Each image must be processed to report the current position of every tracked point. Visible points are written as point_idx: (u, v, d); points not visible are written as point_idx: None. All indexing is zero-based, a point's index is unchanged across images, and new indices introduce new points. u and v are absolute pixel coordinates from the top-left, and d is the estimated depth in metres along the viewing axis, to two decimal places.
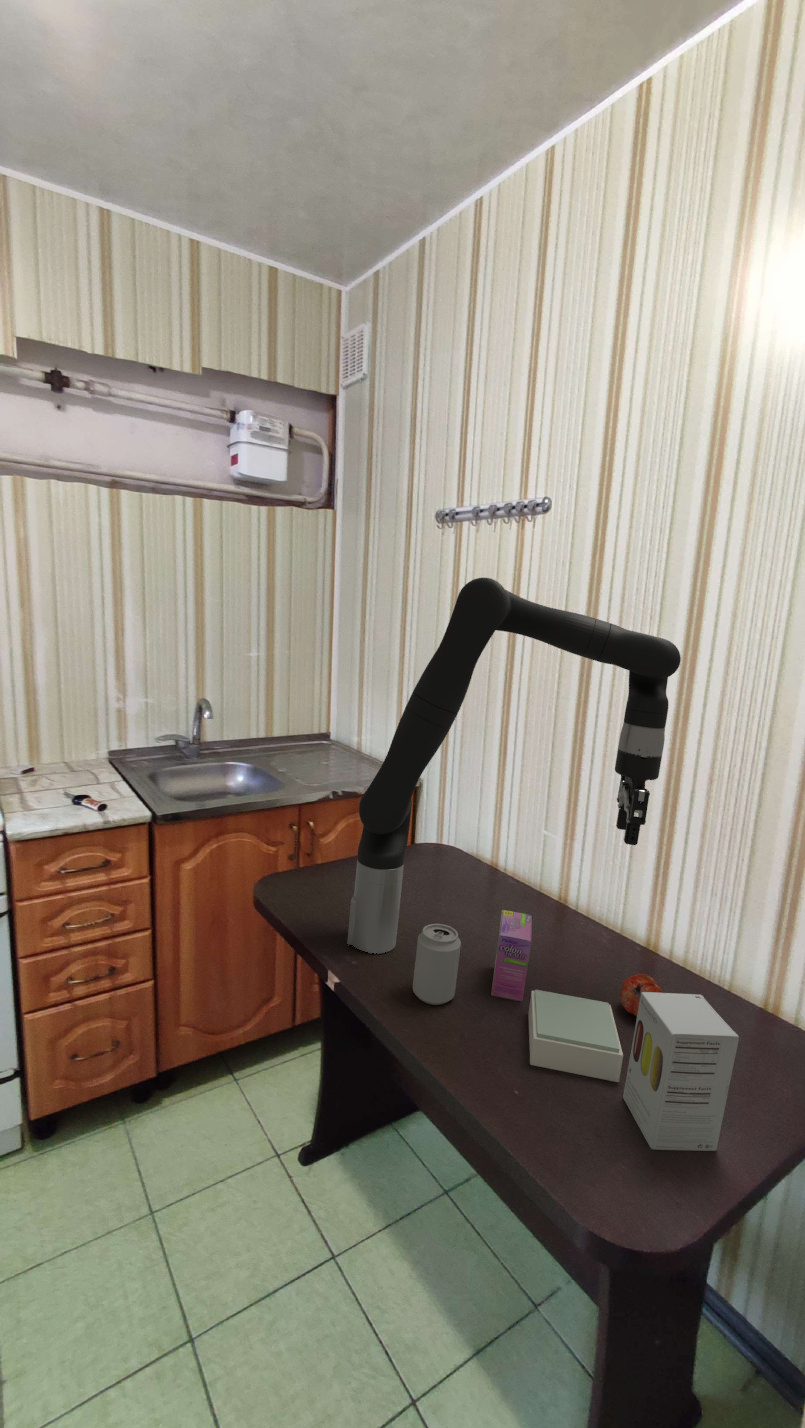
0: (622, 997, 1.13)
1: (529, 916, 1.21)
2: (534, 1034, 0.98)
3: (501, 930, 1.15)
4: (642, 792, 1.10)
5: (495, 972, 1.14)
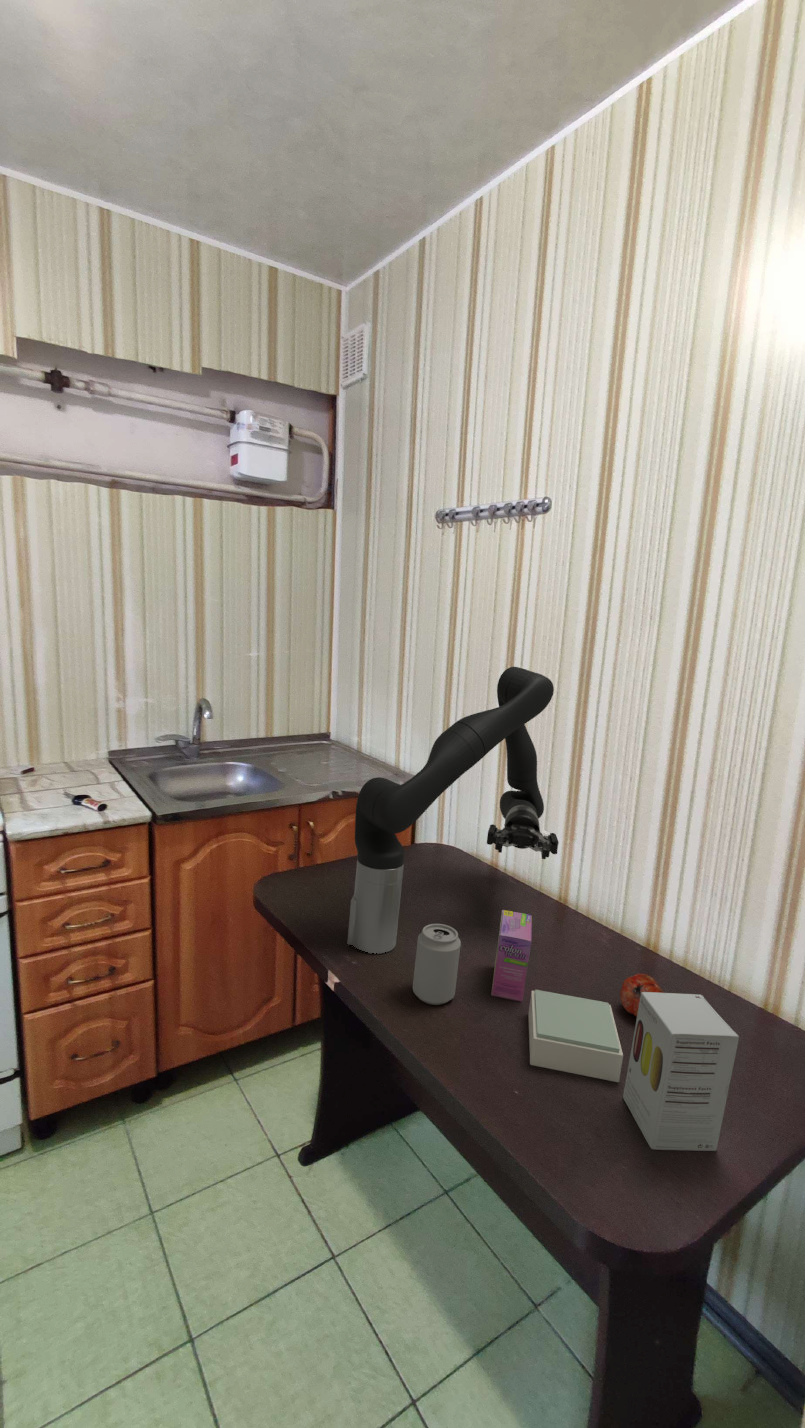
0: (622, 997, 1.13)
1: (529, 916, 1.21)
2: (534, 1034, 0.98)
3: (501, 930, 1.15)
4: None
5: (495, 972, 1.14)
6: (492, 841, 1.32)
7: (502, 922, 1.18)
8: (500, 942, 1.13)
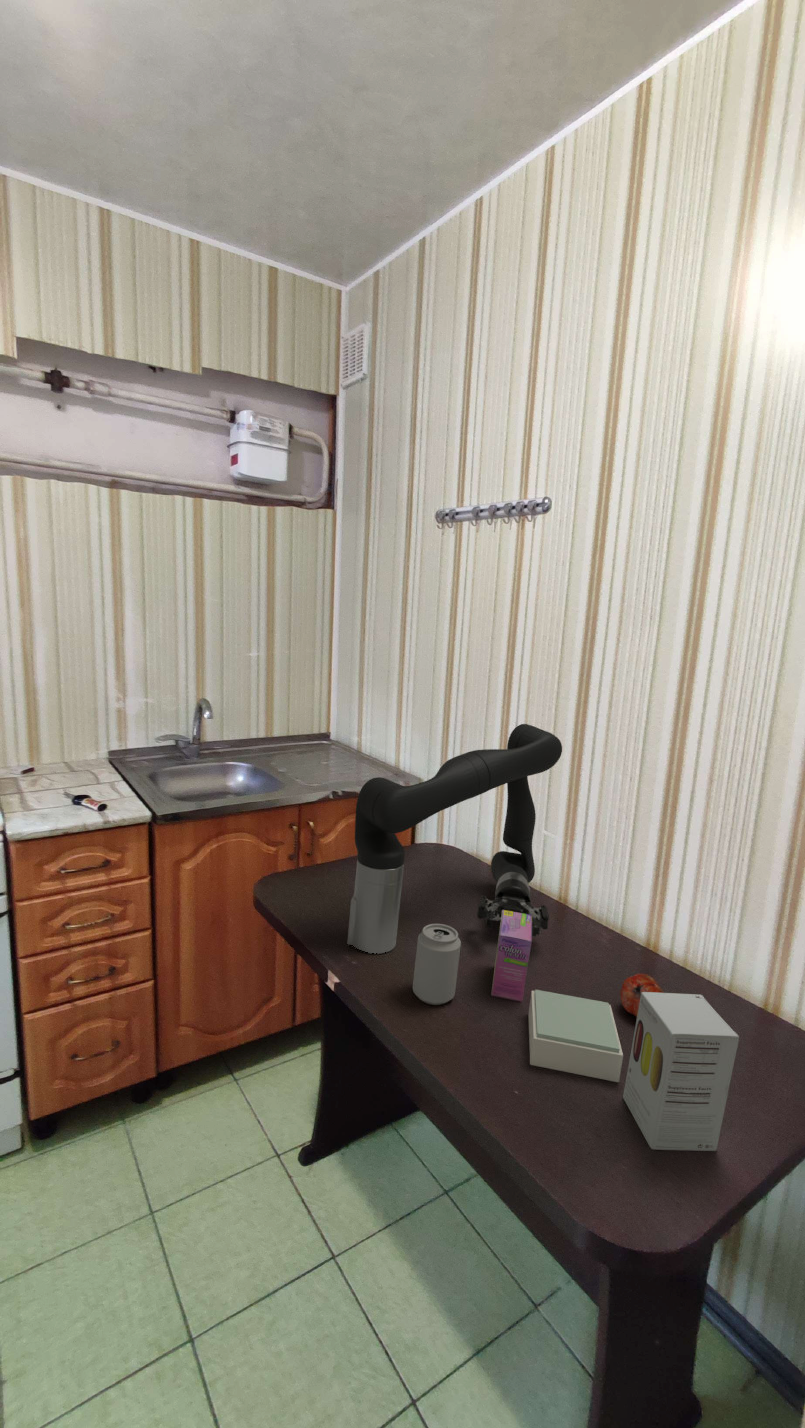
0: (622, 997, 1.13)
1: (529, 916, 1.21)
2: (534, 1034, 0.98)
3: (501, 930, 1.15)
4: None
5: (495, 972, 1.14)
6: (483, 915, 1.32)
7: (502, 922, 1.18)
8: (500, 942, 1.13)
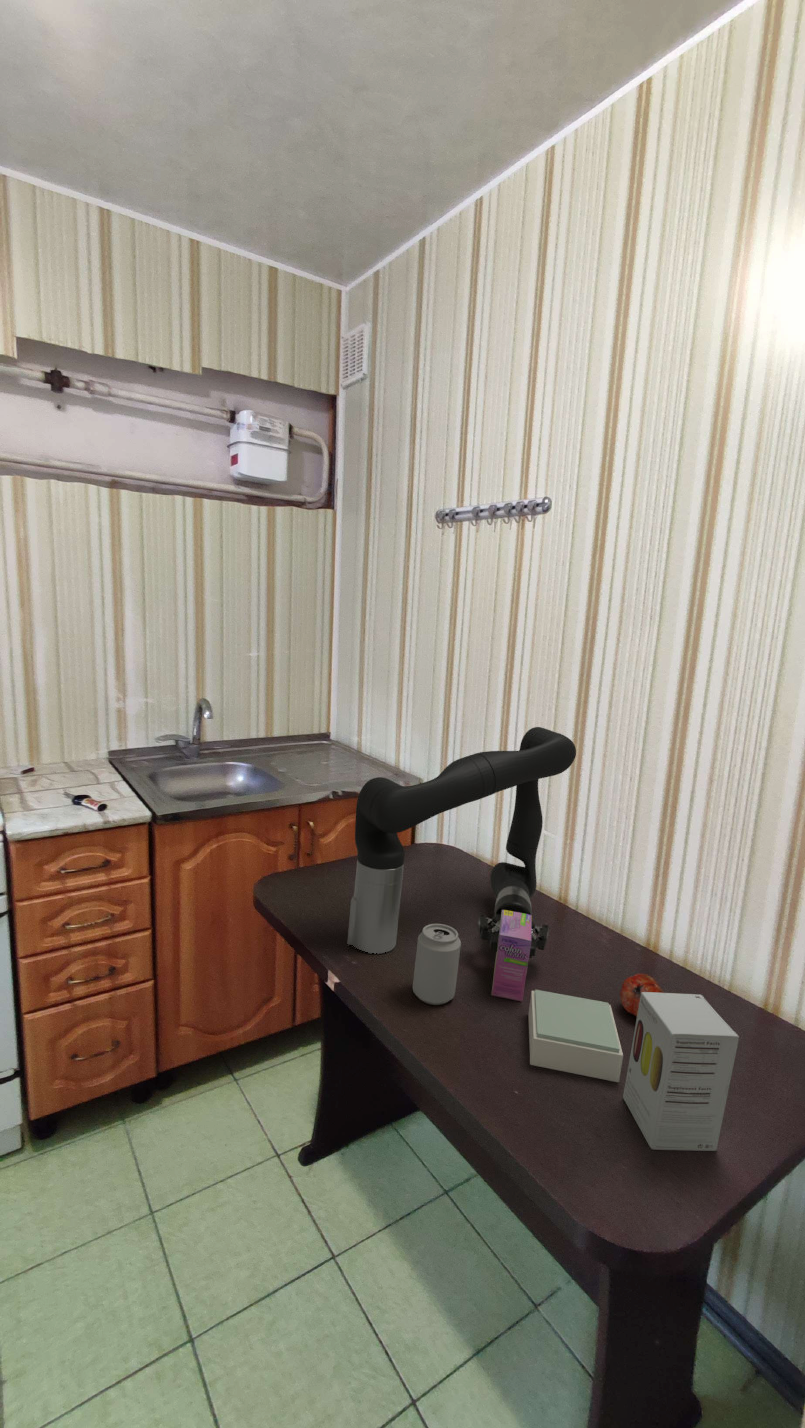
0: (622, 997, 1.13)
1: (529, 916, 1.21)
2: (534, 1034, 0.98)
3: (501, 930, 1.15)
4: None
5: (495, 972, 1.14)
6: (487, 936, 1.23)
7: (502, 922, 1.18)
8: (500, 942, 1.13)
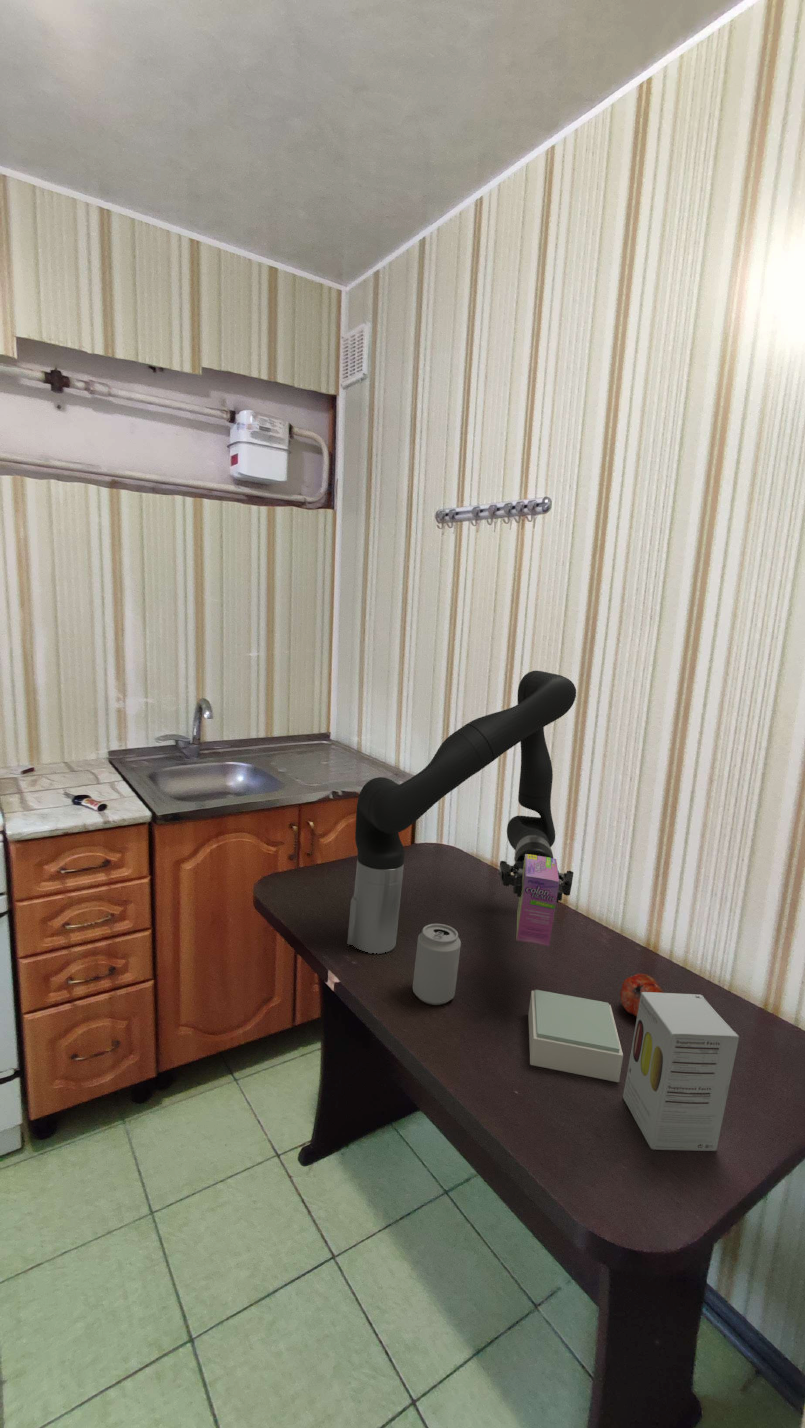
0: (622, 997, 1.13)
1: (554, 859, 1.16)
2: (534, 1034, 0.98)
3: (527, 872, 1.09)
4: None
5: (521, 915, 1.08)
6: (509, 882, 1.17)
7: (526, 865, 1.12)
8: (526, 883, 1.07)
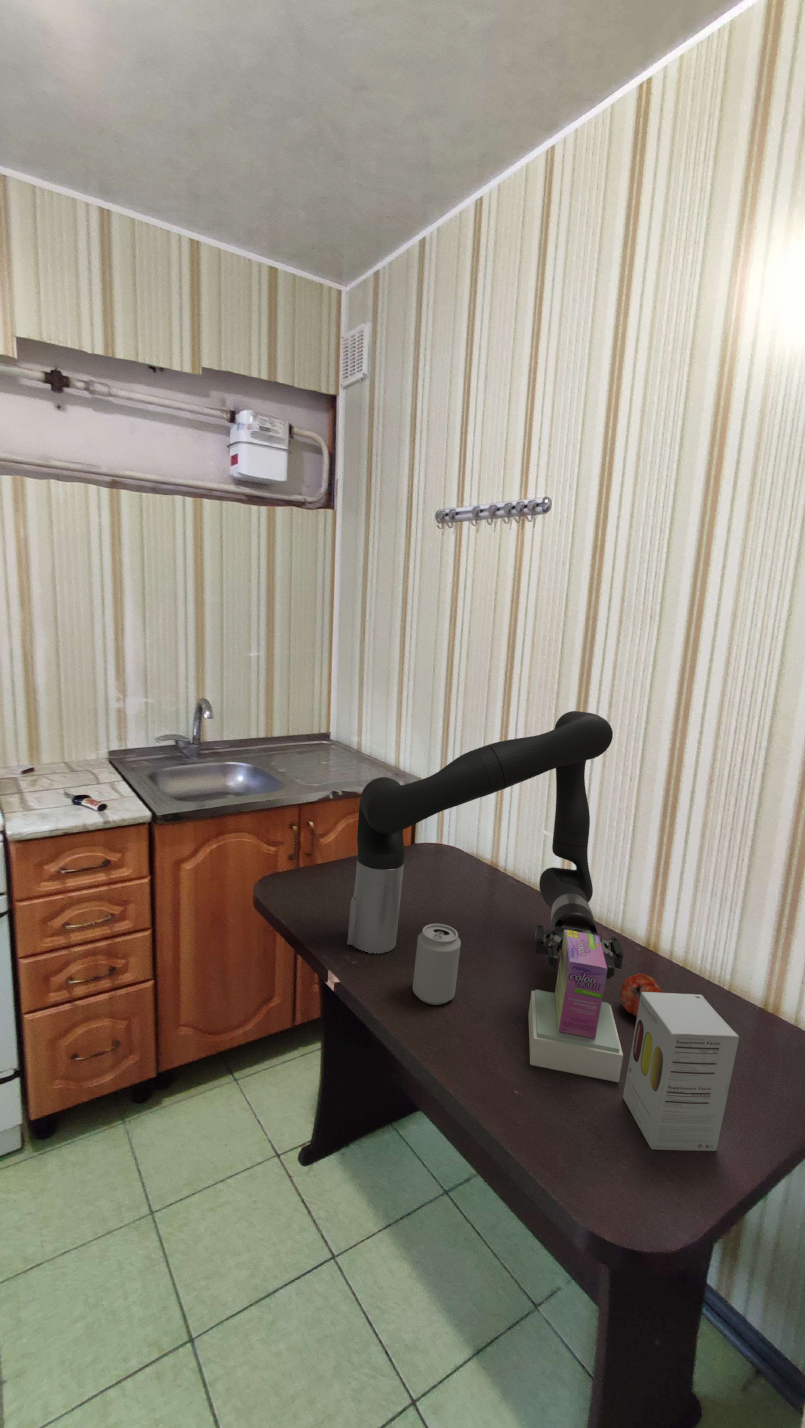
0: (622, 997, 1.13)
1: (597, 937, 1.05)
2: (534, 1034, 0.98)
3: (570, 955, 0.98)
4: None
5: (563, 1005, 0.98)
6: (542, 951, 1.06)
7: (568, 945, 1.01)
8: (570, 970, 0.97)
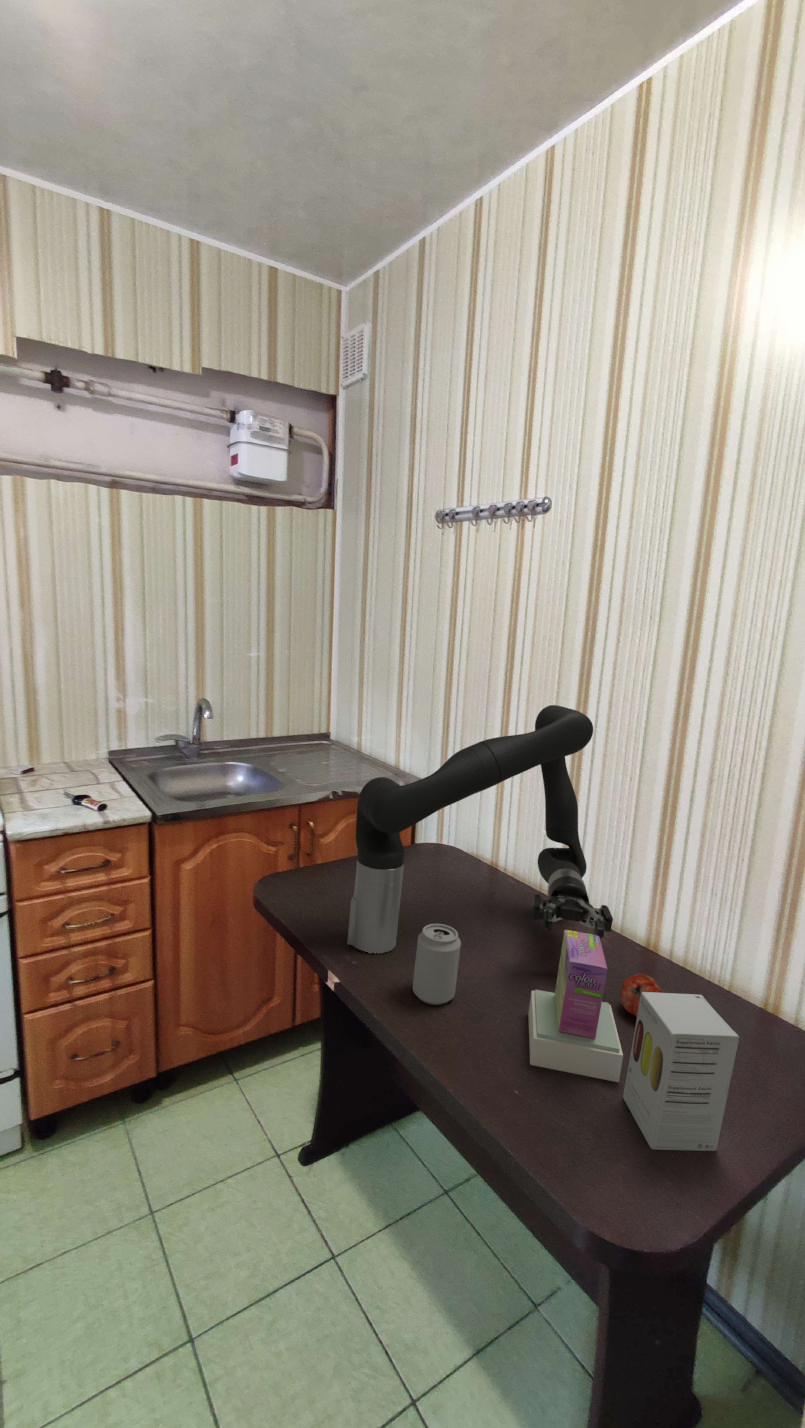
0: (622, 997, 1.13)
1: (597, 937, 1.05)
2: (534, 1034, 0.98)
3: (570, 955, 0.98)
4: None
5: (564, 1005, 0.98)
6: (538, 916, 1.19)
7: (568, 945, 1.01)
8: (570, 970, 0.97)
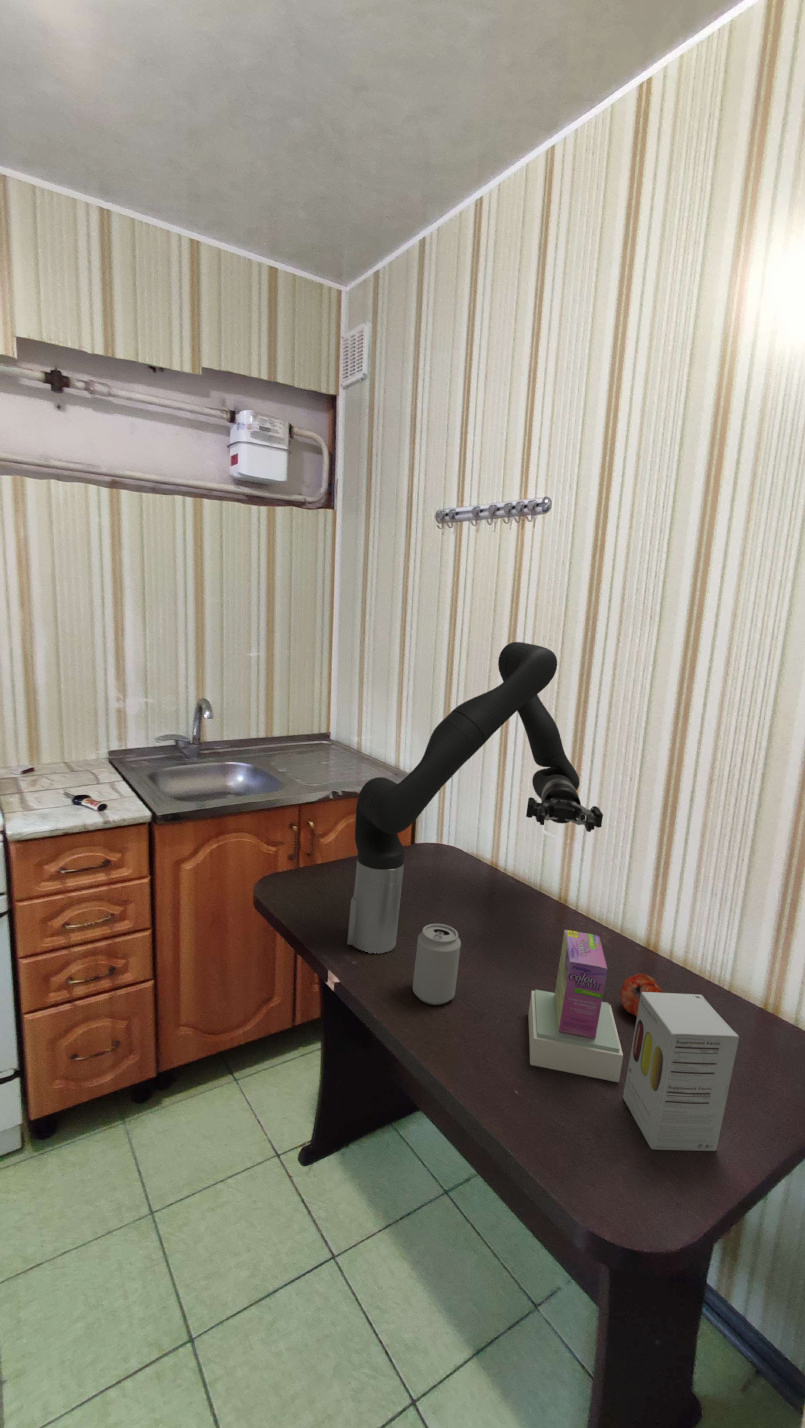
0: (622, 997, 1.13)
1: (597, 937, 1.05)
2: (534, 1034, 0.98)
3: (570, 955, 0.98)
4: None
5: (564, 1005, 0.98)
6: (532, 814, 1.25)
7: (568, 945, 1.01)
8: (570, 970, 0.97)
